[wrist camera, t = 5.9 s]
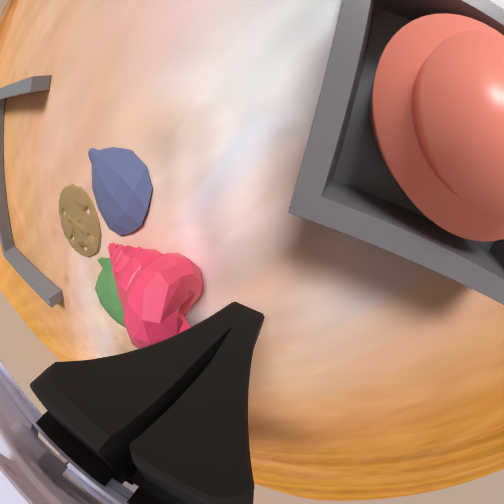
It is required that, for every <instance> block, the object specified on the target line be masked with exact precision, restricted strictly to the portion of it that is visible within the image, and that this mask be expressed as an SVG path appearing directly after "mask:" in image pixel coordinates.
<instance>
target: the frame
mask: <svg viewBox="0 0 504 504" xmlns="http://www.w3.org/2000/svg"><path fill="white" fill-rule="evenodd" d="M50 80H51V75H48V76H34V77H30V78H27V79H24V80H21V81H18V82H15V83H13V84H10V85H7V86H5V87H2V88H0V242H1V246H2V250H3V254H4V257H5V258H6V259H7V260H8V262H9V263H10V264H11V265H12V266H13V267H14V269H15V270H16V271H17V272H18V273H19V274H20V275H21V277H22V278H23V279H24V280H25V281H26V282H27V283H28V284H29V285H30V286H31V287H32V289H33V290H34V291H35V292H36V293H37V294H38V295H39V296H40V297H41V298H42V299H43V300H44V301H45V302H46V303H47V304H48V305H49V306H50V307H51V308H52V307H53V306H54V305H56V304H57V303H59V302H60V301H62V300H63V296H62V292H61V290H60V289H59V288H58V287H57V286H56V285H54V284H53V283H52V282H51V281H50V280H49V279H48V278H47V277H46V276H44V275H43V274H42V273H41V272H40V271H39V270H38V269H37V268H36V267H35V266H34V265H33V264H32V263H31V262H30V261H29V260H28V259H27V258H26V257H25V256H24V255H23V254H22V253H21V252H20V251H19V250H18V249H17V248H16V247H15V246H14V241H13V236H12V231H11V226H10V220H9V214H8V207H7V199H6V190H5V178H4V161H3V125H4V109H5V99H6V98H10V97H14V96H18V95H23V94H28V93H33V92H39V91H44V90H49V87H50Z"/></svg>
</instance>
